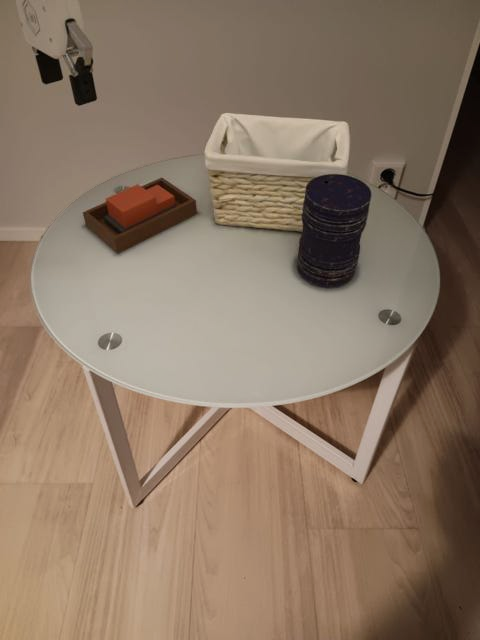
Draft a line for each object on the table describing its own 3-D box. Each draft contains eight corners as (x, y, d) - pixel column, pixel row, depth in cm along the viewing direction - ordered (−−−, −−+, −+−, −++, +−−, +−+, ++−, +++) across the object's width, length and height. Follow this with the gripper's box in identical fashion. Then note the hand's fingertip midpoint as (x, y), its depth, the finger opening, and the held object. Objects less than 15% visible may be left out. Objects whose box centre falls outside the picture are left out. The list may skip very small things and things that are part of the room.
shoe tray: (117, 253, 88) (114, 239, 86) (85, 226, 93) (82, 212, 91) (196, 214, 96) (196, 200, 94) (163, 190, 101) (161, 177, 99)
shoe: (123, 238, 90) (118, 214, 86) (105, 223, 93) (99, 200, 89) (177, 212, 95) (174, 188, 92) (158, 198, 99) (155, 175, 95)
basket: (205, 227, 93) (200, 153, 82) (221, 180, 104) (220, 109, 93) (336, 241, 90) (349, 166, 80) (339, 191, 101) (351, 119, 91)
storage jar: (367, 275, 84) (386, 198, 73) (319, 296, 81) (332, 218, 70) (330, 243, 90) (343, 167, 79) (284, 261, 87) (291, 184, 76)
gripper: (-24, -60, 64) (18, 80, 77) (40, -35, 55) (76, 119, 68) (32, -67, 68) (63, 68, 80) (101, -45, 59) (124, 103, 71)
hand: (69, 91), depth 74 cm, fingers open, 9 cm apart
